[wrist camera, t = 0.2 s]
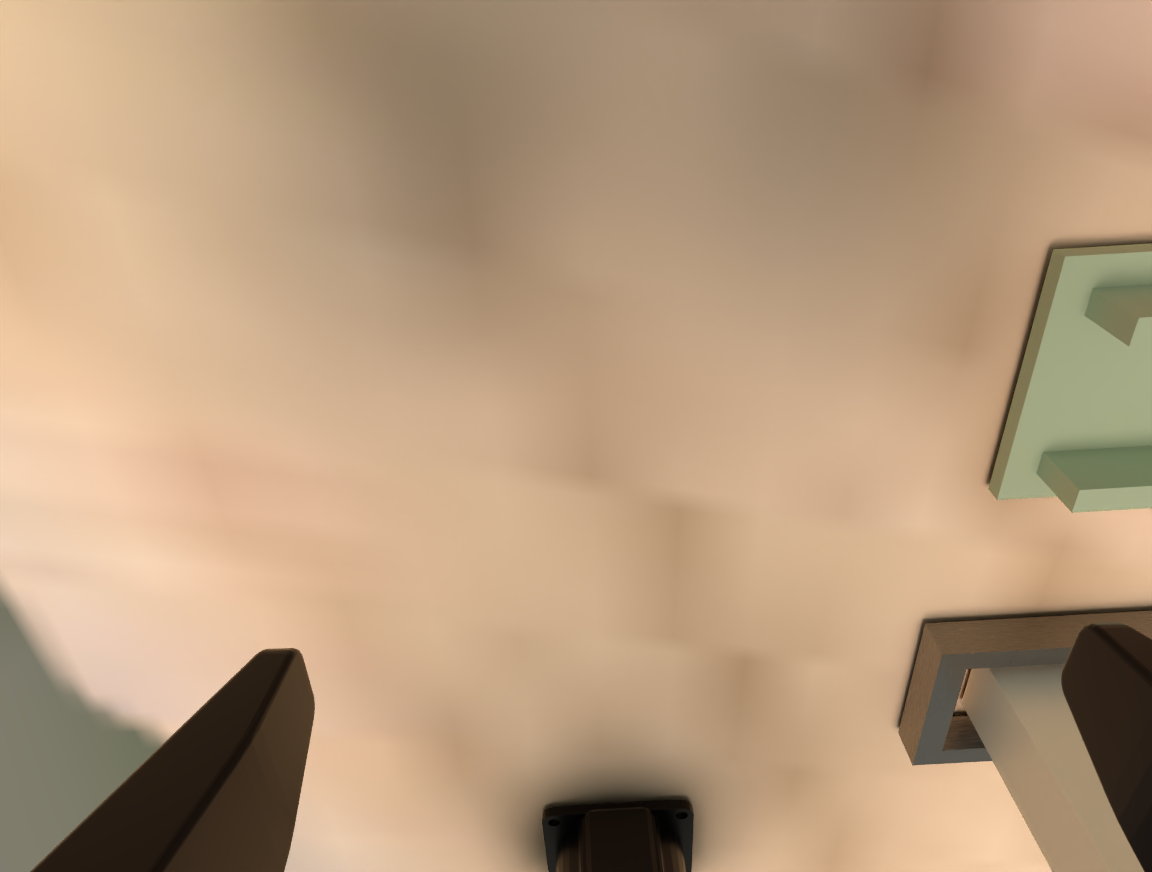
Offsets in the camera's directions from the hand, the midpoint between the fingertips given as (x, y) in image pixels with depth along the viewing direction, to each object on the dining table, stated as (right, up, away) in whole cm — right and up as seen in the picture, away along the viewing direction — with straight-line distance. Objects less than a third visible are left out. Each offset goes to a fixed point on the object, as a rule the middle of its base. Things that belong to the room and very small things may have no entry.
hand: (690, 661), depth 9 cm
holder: (+16, +5, +14) cm, 22 cm away
